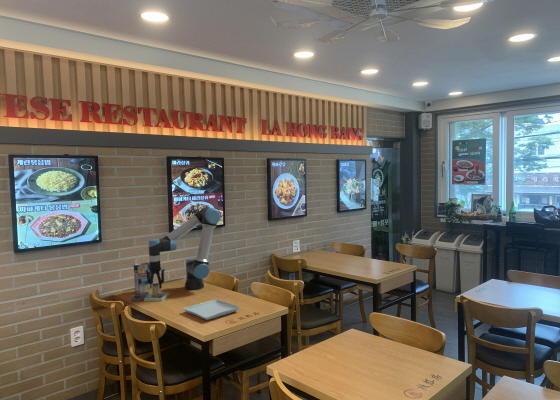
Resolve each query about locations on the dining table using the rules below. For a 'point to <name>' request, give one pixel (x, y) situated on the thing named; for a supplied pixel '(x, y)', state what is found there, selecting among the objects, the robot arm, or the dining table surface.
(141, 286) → the fuse
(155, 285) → the fuse
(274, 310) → the dining table surface
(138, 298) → the fuse block
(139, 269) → the beverage box
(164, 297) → the parts tray
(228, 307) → the square plate
